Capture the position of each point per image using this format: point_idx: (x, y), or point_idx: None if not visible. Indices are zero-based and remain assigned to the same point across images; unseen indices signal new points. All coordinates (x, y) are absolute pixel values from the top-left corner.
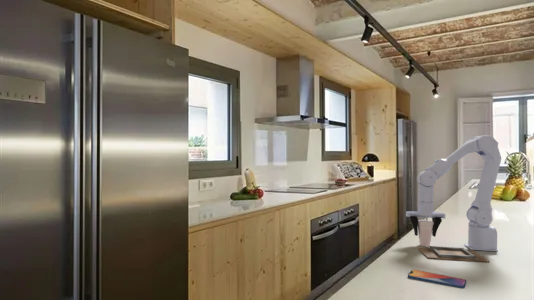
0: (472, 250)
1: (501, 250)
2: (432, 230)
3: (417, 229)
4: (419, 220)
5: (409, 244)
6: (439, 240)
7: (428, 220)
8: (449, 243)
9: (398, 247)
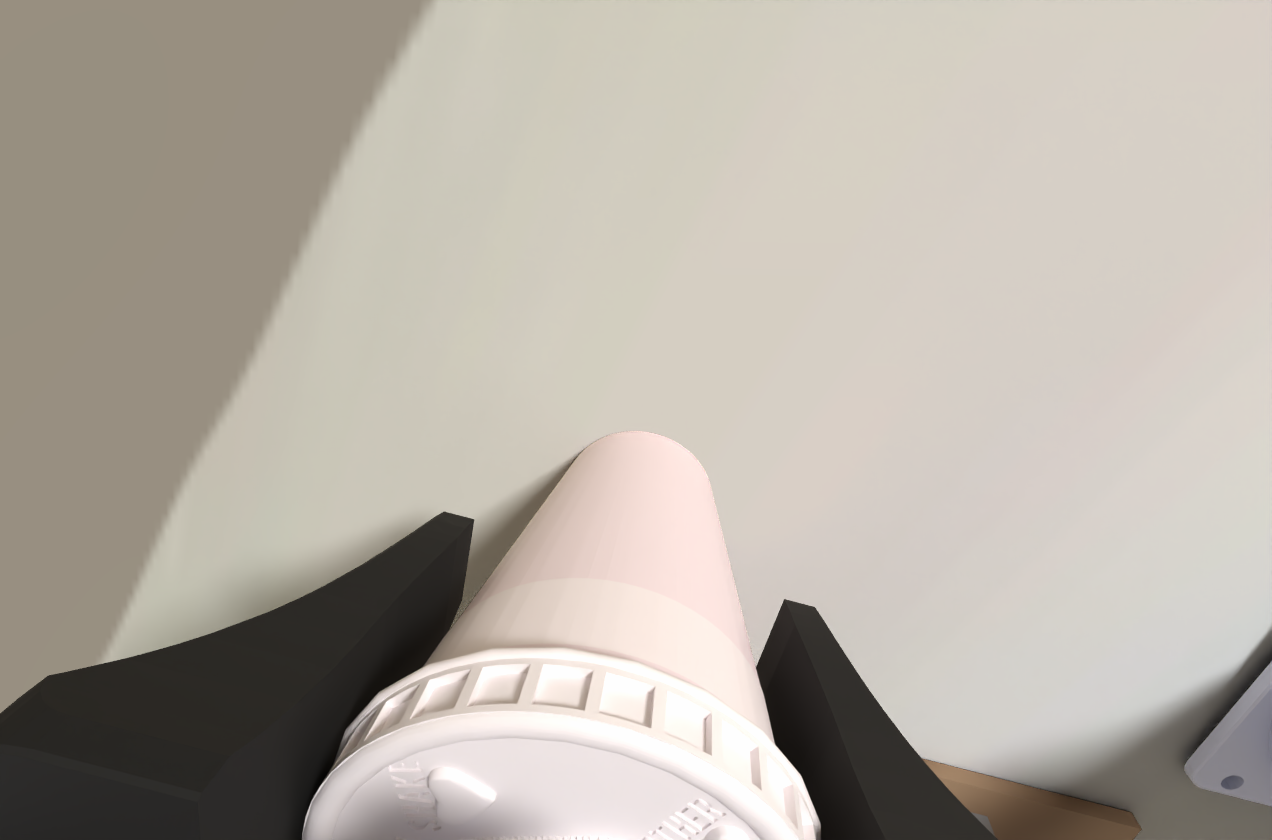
0: (1120, 831)
1: None
2: (803, 671)
3: None
4: (422, 779)
5: (415, 428)
6: (1226, 125)
7: (756, 837)
8: (1211, 391)
9: (213, 568)
